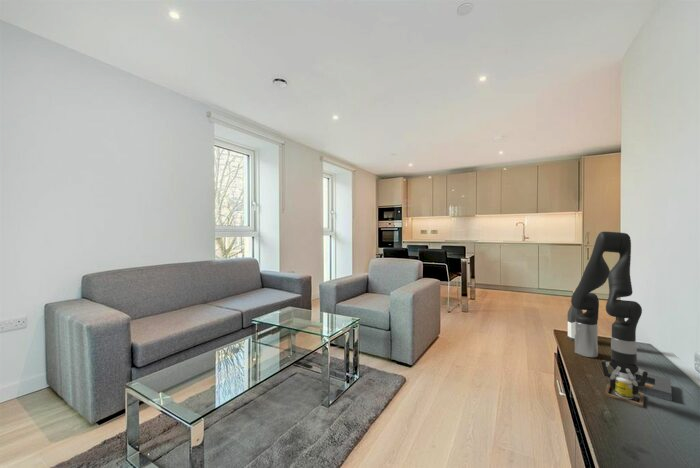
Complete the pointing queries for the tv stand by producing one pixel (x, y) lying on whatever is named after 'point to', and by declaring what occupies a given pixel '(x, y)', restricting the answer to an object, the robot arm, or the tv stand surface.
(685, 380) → the tv stand surface
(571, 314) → the wine bottle
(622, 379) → the supplement bottle
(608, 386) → the cradle
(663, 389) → the socket plate
